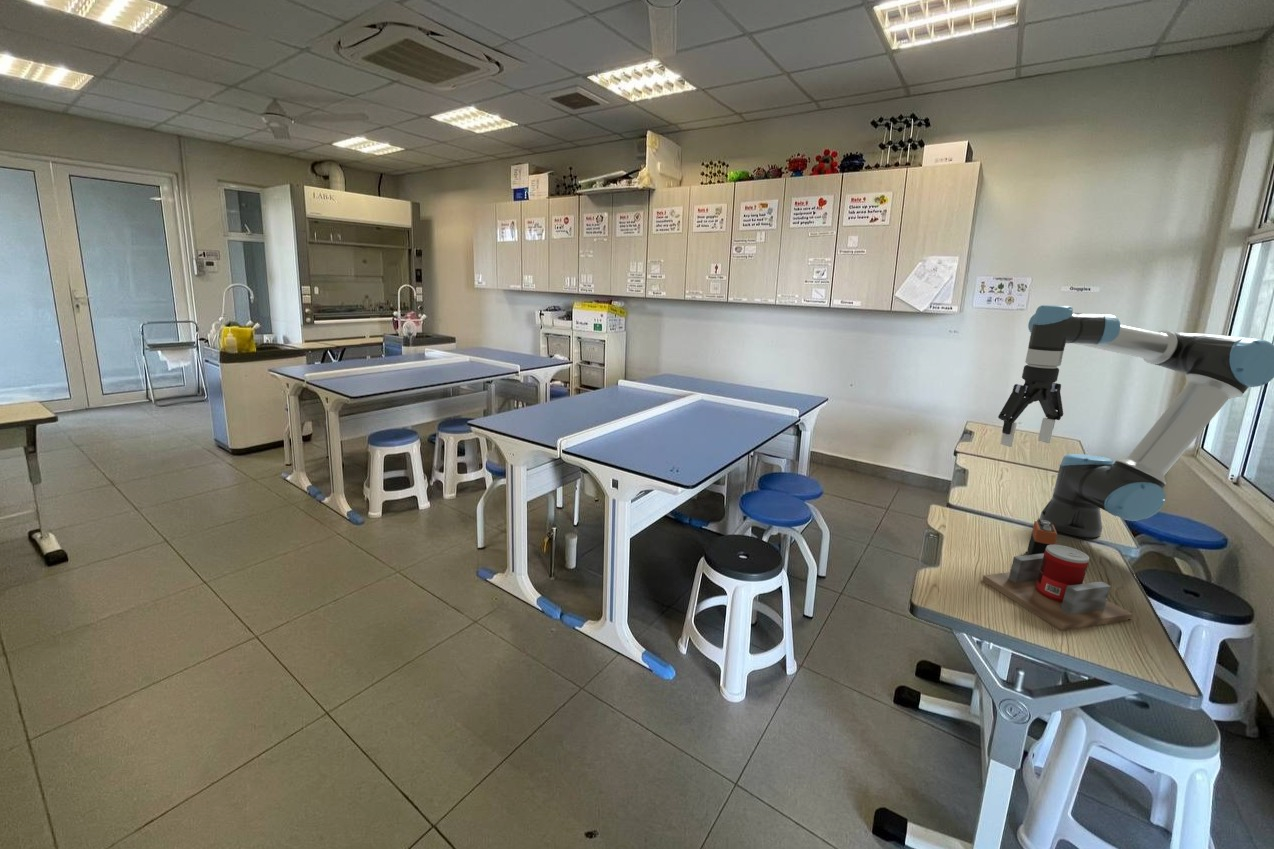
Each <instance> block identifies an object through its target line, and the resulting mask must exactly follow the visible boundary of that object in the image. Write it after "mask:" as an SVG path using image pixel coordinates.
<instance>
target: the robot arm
mask: <svg viewBox="0 0 1274 849" xmlns="http://www.w3.org/2000/svg"><path fill="white" fill-rule="evenodd" d="M1073 311H1074V308H1073V307H1072V306H1070V305H1060V304H1059V305H1054V304H1053V305H1052V304H1043V305H1040V306H1038V307H1037V308H1036V311H1035V313H1034V314H1033V315H1032V316H1031V317H1030V319H1029V322H1028V324H1027V325H1028V326H1027V327H1028V331H1029V333H1030V336H1029V340H1028V341H1029V342H1028V347H1027V352H1026V357H1025V360H1024V362H1025V365H1024V366H1023V369H1022V370H1023V371H1022V375H1021V379H1023V380H1024V383H1023V385H1022V384H1018V383H1015V384H1014V385H1013V388H1012V391H1011V392H1010V393H1011V394H1010V395H1009V397H1008V399H1007V401H1006V402H1005V404H1004V406H1003V407H1002V408H1001V411H1000V412H999V414H998V419H999V420H1000V421H1003V425H1002V430H1001V433H1002V434H1001V439H1000V445H1003V446H1006V447H1008V448H1013V442H1014V439H1015V438H1014V437H1015V433H1016V429H1017V422H1016V420H1018V418H1019V417H1020V416H1021V415H1022V413H1023V412H1024V411H1025V409H1026V408H1027V407H1028V406H1029V405H1030V404H1032V403H1034V402H1038V401H1039V402H1038V403H1039V404H1040V406H1041V408H1042V409H1041V410H1042V411H1043V413H1044V416H1045V417H1042V421H1041V425H1040V430H1039V433H1038V439H1037V441H1038V442H1041V443H1046V444H1050V443H1051V439H1052V434H1053V431H1054V428H1055V423H1056V421H1060V420H1061V418H1062V417H1063V416H1064V409H1063V403H1062V402H1063V401H1062V396H1061V388H1062V384H1061V383H1059V382H1058V383H1057V381H1058V377H1059V373H1060V369H1059V367H1060V366H1061V365H1062V361H1063V355H1064V351H1065V346H1066V344H1075V345H1079V346H1083V347H1089V348H1094V349H1098V350H1102V351H1108V352H1112V353H1117V354H1121V355H1126V356H1130V357H1135V358H1141V359H1143V360H1144V362H1146V363H1147V364H1151V365H1155V366H1157V367H1158V366H1159V367H1162V368H1166V369H1168V370H1172V371H1174V372H1178V373H1181V374H1184V375H1185V379H1186V381H1187V384H1186V385H1185V387H1184V388H1183V389H1182V390H1181V391H1180V393H1178V395H1177V396H1176V398H1175V399H1173V401H1172V402H1171V404H1170V405H1169V406H1168V407H1167V408H1166V410H1165V411H1164V412H1163V413H1162V415H1161V416H1160V417H1159V418H1158V420H1156V422H1155V423H1154V424H1153V425H1152V427H1151V428H1150V429H1149V431H1148V432H1147V433H1146V434H1145V435H1144V437H1143V438H1142V439H1141V440H1140V442H1138V444H1137V445H1136V446H1135V447H1134V448H1133V450H1132V451H1131V452H1130V453H1129V455H1128V456H1127V457H1126V458H1121V459H1117V460H1115V462H1114V460H1113V459H1112V458H1108V457H1105V456H1099V455H1094V454H1093V455H1092V454H1083V453H1069V454H1066V455H1064V456H1063V457H1062V459H1061V462H1060V464H1059V467H1058V472H1057V477H1056V480H1055V481H1056V482H1055V486H1054V489H1053V494H1052V496H1051V498H1050V500H1049V502H1048V503H1047V504H1046V505H1045V506H1044V508H1043V509H1042V511H1041V513H1040V515H1039V522H1041V521H1042V520H1046V521H1049V522H1050V524H1052V525H1054V528H1055V530H1056V532H1059V533H1062V534H1066V535H1071V536H1074V537H1081V538H1098V537H1100V536H1101V535H1102V531H1103V523H1102V514H1101V510H1104V511H1105V512H1107V513H1109V514H1110V515H1111V516H1115V517H1118V518H1120V519H1121V520H1126V521H1131V522H1132V521H1133V522H1134V521H1136V522H1137V521H1141V520H1146V519H1149V518H1151V517H1153V516H1155V515H1156V514H1157V513H1159V512H1160V510H1162V508H1163V507H1164V504H1165V503H1166V500H1165V498H1166V492H1165V491H1164V490H1163V489H1164V487H1165V486H1166V485H1167V482H1166V478H1165V475H1166V474H1167V472H1169V470H1170V469H1171V468H1172V467H1173V466H1174V465H1175V463H1176V462H1177V461H1178V460H1179V459H1180V457H1182V455H1183V453H1184V452H1186V450H1187V449H1188V448H1189V447H1190V446H1191V445H1192V443H1193V442H1194V441H1195V439H1196V438H1197V437H1198V436H1199V435H1200V434H1201V432H1202V431H1203V430H1204V428H1206V426H1208V425H1209V423H1210V422H1211V421H1212V419H1213V418H1214V417H1215V416H1216V415H1217V413H1218V412H1219V411H1220V410H1221V409H1222V407H1224V405H1225V404H1226V403H1227V402H1228V401H1229V400H1230V399H1234V398H1240V397H1242V396H1243V395H1244V394H1245V393H1246V391H1247V390H1248V389H1249V388H1256V387H1257V388H1259V387H1262V385H1266V384H1268V383H1270V382H1271V381H1272V380H1273V379H1274V344H1273V343H1272V342H1271V341H1270V342H1269V341H1268V340H1265V339H1260V338H1254V337H1250V336H1243V337H1242V336H1233V335H1223V334H1213V333H1199V332H1198V333H1197V332H1180V331H1179V332H1178V331H1171V330H1164V329H1163V330H1159V331H1154V330H1153V331H1152V330H1148V329H1143V328H1140V327H1139V328H1138V327H1133V326H1128V325H1124V324H1121V322H1120V319H1119V317H1117V316H1115V315H1113V314H1105V313H1084V312H1073Z"/></svg>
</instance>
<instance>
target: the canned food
mask: <svg viewBox="0 0 1274 849" xmlns="http://www.w3.org/2000/svg"><path fill="white" fill-rule="evenodd" d="M1089 563H1090V556H1089V555H1088V554H1087V553H1085V552H1083V551H1081V550H1079V549H1076V548H1074V547H1072V546H1071V547H1070V546H1067V545H1062V544H1055V545H1048V546H1047V547H1046V549H1045V552H1044V556H1043V560H1042V564H1041V568H1040V572H1039V576H1038V579H1037V583H1036V588H1037V591H1038V592H1039V593H1040V594H1042V595H1043V596H1045V597H1047V598H1049V599H1051V600H1054V601H1058V602H1063V599H1064V595H1065V591H1066V588H1067V586H1070V585H1077V584H1084V580H1085V578H1086V573H1087V570H1088V567H1089Z"/></svg>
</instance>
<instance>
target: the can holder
mask: <svg viewBox="0 0 1274 849" xmlns="http://www.w3.org/2000/svg"><path fill="white" fill-rule="evenodd" d="M1043 556H1044V553H1043V554H1034V555H1029V554H1028V555H1027V554H1026V555H1025V554H1024V555H1017V556H1016V555H1015V556H1013V558H1012V563H1011V564H1012V565H1011V568H1010V571H1008V572H1001V573H1000V572H998V573H991V574H984V575H982V580H981V581H982V582H983V583H985V584H987V585H988V586H990V587H991V588H992V589H994V590H997V591H998V592H999V593H1001V594H1002V595H1004V596H1005V597H1007V598H1009V599H1010V600H1012V601H1013V602H1015V603H1016V604H1018V605H1020V606H1022V607H1023V608H1025V609H1026V610H1028V611H1029V612H1030V613H1032V614H1034V615H1035V616H1037V617H1038V618H1040V619H1042V620H1043V621H1045V622H1047V623H1048V624H1049V625H1051V626H1053V627H1055V628H1056V629H1058V630H1060V631H1069V630H1075V629H1081V628H1082V629H1083V628H1087V627H1093V626H1099V625H1106V624H1112V623H1120V622H1124V620H1126V621H1129V620H1128V619H1131V620H1132V617H1133V613H1132V612H1129V611H1128V610H1126V609H1124V608H1123V607H1120V606H1119V605H1117V604H1115V603H1113V602H1111V601H1110V600H1108V597H1109V593H1110V590H1111V587H1112V586H1111V585H1110V584H1108V583H1106V582H1105V581H1095V582H1092V581H1091V582H1088V583H1087V582H1086V583H1083V584H1077V585H1070V586H1067V588H1066V591H1065V595H1064V599H1063V602H1058V601H1054V600H1051V599H1049V598H1047V597H1045V596H1043V595H1042V594H1040V593H1039V592H1038V591H1037V588H1036V583H1037V579H1038V576H1039V572H1040V568H1041V564H1042V560H1043ZM1119 621H1120V622H1119Z"/></svg>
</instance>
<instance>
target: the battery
mask: <svg viewBox="0 0 1274 849" xmlns="http://www.w3.org/2000/svg"><path fill="white" fill-rule="evenodd" d="M1057 532H1058V531H1056V530H1055V528H1054V525H1052V524H1050V522H1049V521H1046V520H1042V521H1041V522H1040V521H1034V523H1033V527H1032V531H1031V535H1030V538H1029V543H1028V546H1027V553H1028V555H1034V554H1043V553H1044V552H1045V549H1046V547H1047V546H1048V545H1056V541H1057V538H1058V533H1057Z"/></svg>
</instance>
